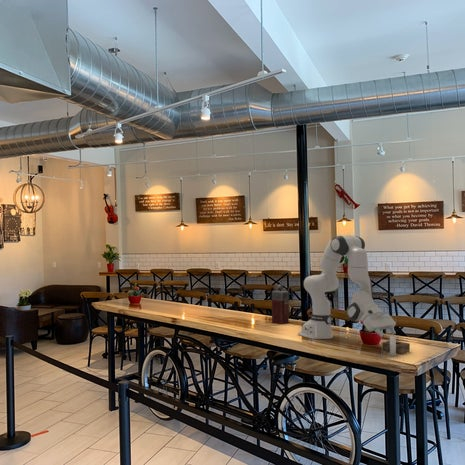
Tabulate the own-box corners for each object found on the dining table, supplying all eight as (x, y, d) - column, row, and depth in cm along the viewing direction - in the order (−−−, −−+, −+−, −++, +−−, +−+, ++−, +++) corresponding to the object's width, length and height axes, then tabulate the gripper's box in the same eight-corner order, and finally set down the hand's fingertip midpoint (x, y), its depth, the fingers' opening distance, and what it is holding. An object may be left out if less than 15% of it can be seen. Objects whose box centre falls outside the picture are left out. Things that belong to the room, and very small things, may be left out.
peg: (388, 355, 236) (388, 336, 236) (391, 354, 238) (391, 335, 238) (394, 356, 234) (394, 337, 234) (396, 355, 236) (396, 336, 236)
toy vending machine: (284, 324, 322) (284, 285, 322) (271, 322, 329) (271, 284, 330) (291, 323, 328) (291, 284, 329) (278, 321, 336) (278, 283, 336)
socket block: (382, 350, 246) (382, 342, 246) (390, 348, 253) (390, 340, 253) (401, 354, 238) (401, 346, 238) (409, 351, 245) (409, 343, 245)
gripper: (382, 316, 254) (397, 336, 246) (357, 319, 243) (372, 340, 235) (389, 309, 251) (404, 329, 242) (364, 312, 240) (379, 333, 231)
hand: (388, 335), depth 238 cm, fingers open, 8 cm apart
